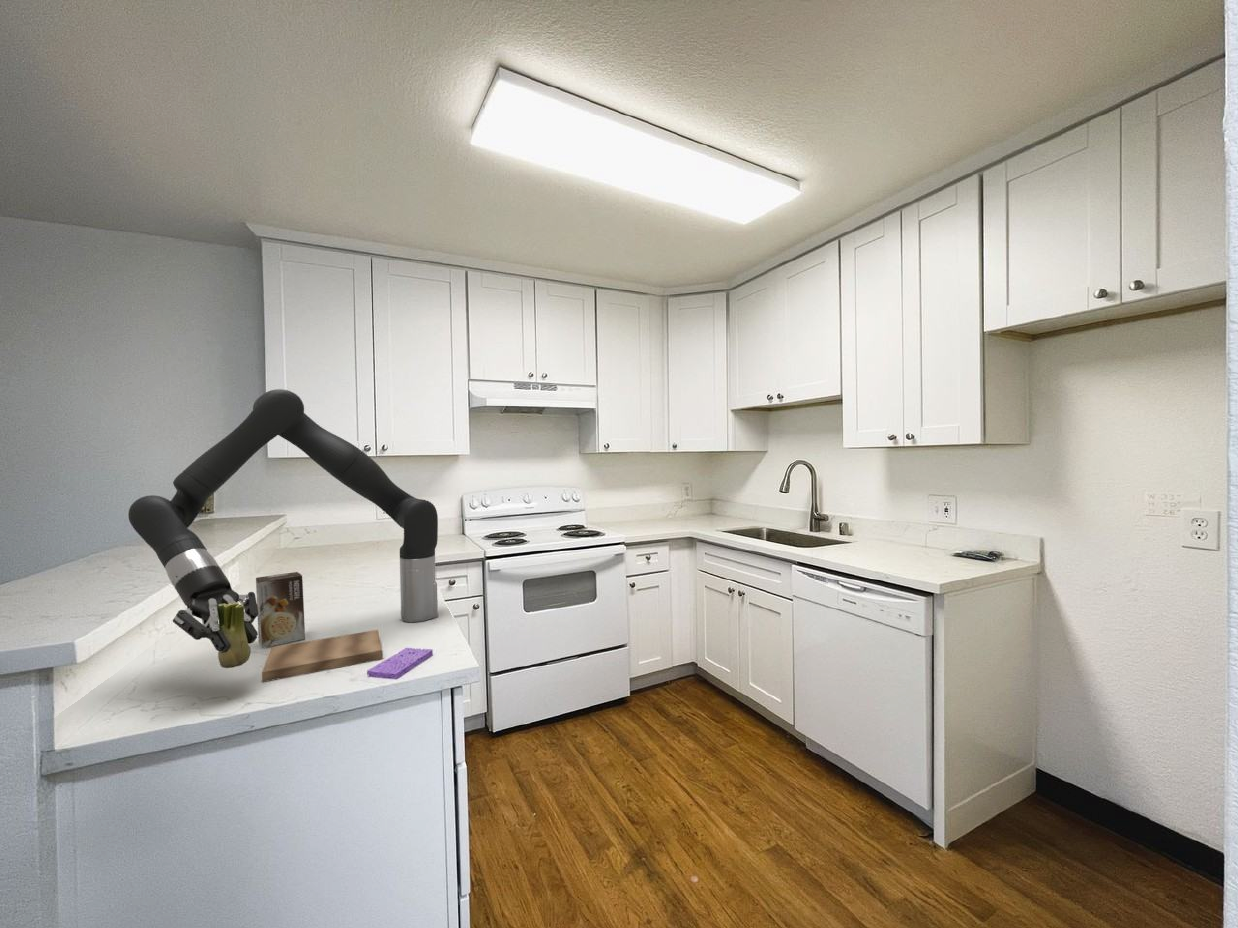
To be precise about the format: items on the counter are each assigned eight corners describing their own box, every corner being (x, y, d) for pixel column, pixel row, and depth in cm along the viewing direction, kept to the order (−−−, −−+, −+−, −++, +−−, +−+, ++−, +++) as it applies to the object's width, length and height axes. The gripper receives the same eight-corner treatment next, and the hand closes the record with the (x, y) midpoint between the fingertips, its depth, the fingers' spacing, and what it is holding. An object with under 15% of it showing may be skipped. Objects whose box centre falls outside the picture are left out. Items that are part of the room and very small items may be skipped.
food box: (301, 632, 129) (299, 570, 129) (305, 639, 124) (303, 575, 124) (257, 641, 123) (255, 577, 123) (260, 649, 118) (258, 581, 118)
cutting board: (378, 637, 124) (378, 629, 124) (382, 658, 111) (382, 649, 111) (271, 655, 114) (271, 647, 114) (262, 681, 101) (262, 672, 101)
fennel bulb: (215, 664, 96) (213, 603, 96) (246, 656, 100) (244, 597, 99) (222, 673, 92) (219, 609, 92) (254, 664, 96) (252, 602, 95)
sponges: (433, 657, 113) (433, 649, 113) (395, 681, 101) (395, 672, 101) (406, 654, 115) (406, 646, 115) (366, 678, 103) (366, 669, 103)
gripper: (161, 573, 91) (206, 647, 87) (244, 557, 105) (286, 620, 101) (145, 599, 93) (189, 672, 89) (228, 580, 107) (269, 643, 103)
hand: (240, 644), depth 95 cm, fingers closed on fennel bulb, 4 cm apart
